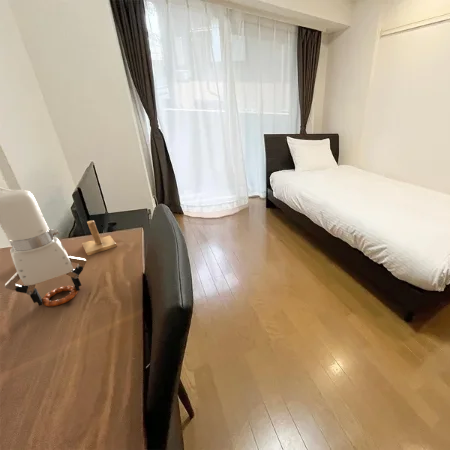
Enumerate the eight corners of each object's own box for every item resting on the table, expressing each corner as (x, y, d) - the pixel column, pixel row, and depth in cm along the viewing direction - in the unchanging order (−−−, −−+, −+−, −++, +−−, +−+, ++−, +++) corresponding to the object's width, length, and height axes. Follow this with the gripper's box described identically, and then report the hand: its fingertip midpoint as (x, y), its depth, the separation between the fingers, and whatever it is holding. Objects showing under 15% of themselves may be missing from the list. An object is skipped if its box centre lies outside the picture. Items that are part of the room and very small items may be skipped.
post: (87, 255, 94) (77, 229, 90) (82, 246, 100) (72, 221, 96) (117, 246, 100) (108, 221, 96) (110, 237, 106) (102, 214, 101)
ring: (44, 311, 71) (42, 307, 70) (41, 297, 75) (39, 293, 75) (80, 297, 75) (78, 293, 75) (75, 285, 80) (73, 281, 80)
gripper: (73, 224, 75) (94, 276, 83) (-18, 246, 64) (16, 303, 72) (78, 233, 70) (100, 287, 78) (-20, 259, 59) (17, 319, 67)
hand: (59, 295), depth 75 cm, fingers closed on ring, 7 cm apart
